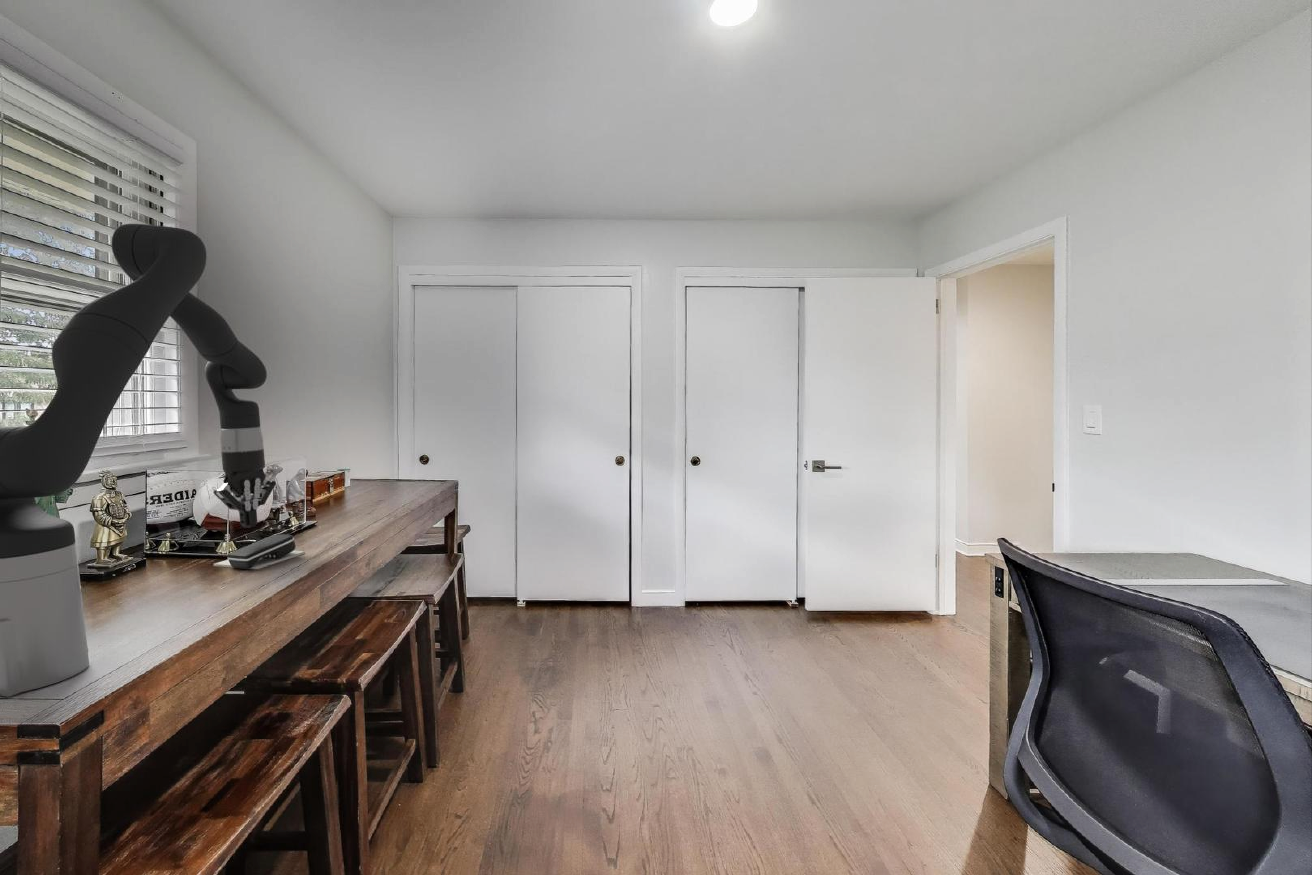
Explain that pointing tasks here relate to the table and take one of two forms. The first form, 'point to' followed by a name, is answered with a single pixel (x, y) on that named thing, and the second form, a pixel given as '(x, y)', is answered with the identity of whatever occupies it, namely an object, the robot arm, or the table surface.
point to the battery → (262, 551)
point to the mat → (263, 561)
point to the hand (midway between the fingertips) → (249, 526)
